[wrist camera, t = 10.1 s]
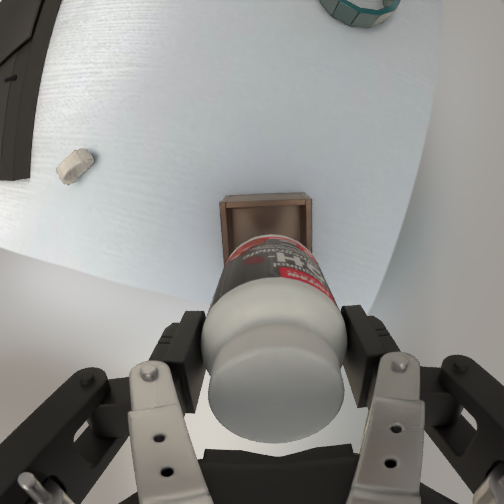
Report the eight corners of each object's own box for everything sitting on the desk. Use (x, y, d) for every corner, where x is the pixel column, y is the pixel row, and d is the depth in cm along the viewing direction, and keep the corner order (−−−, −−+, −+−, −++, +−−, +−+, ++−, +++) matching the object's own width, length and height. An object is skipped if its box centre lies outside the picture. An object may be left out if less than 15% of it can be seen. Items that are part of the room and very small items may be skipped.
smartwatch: (93, 145, 28) (71, 145, 24) (103, 161, 28) (82, 163, 24) (70, 167, 28) (48, 170, 25) (80, 183, 29) (58, 188, 25)
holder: (304, 192, 29) (311, 198, 24) (305, 267, 31) (311, 285, 26) (225, 195, 29) (219, 202, 25) (231, 269, 31) (225, 288, 27)
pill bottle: (318, 228, 17) (380, 316, 7) (319, 318, 18) (357, 448, 9) (216, 235, 17) (164, 330, 8) (227, 324, 19) (201, 457, 9)
